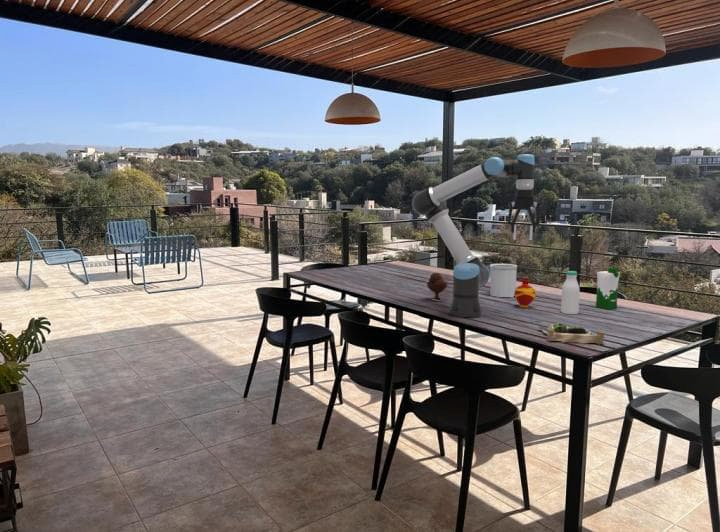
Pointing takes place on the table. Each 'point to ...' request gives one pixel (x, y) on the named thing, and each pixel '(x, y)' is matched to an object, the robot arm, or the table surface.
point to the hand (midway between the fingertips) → (522, 239)
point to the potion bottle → (525, 293)
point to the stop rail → (575, 337)
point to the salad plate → (565, 329)
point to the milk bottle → (570, 294)
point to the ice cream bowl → (436, 284)
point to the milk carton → (607, 289)
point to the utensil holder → (503, 280)
